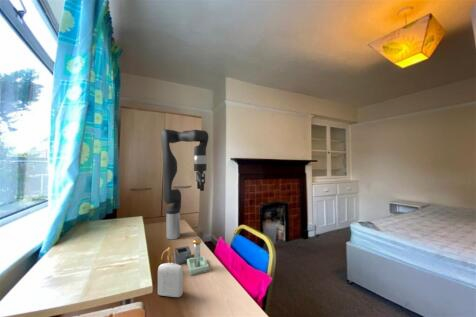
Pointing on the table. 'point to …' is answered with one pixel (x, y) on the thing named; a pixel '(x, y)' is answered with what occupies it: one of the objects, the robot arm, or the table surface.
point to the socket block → (182, 254)
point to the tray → (194, 270)
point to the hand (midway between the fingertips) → (200, 189)
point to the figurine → (169, 253)
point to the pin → (196, 252)
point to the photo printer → (170, 280)
